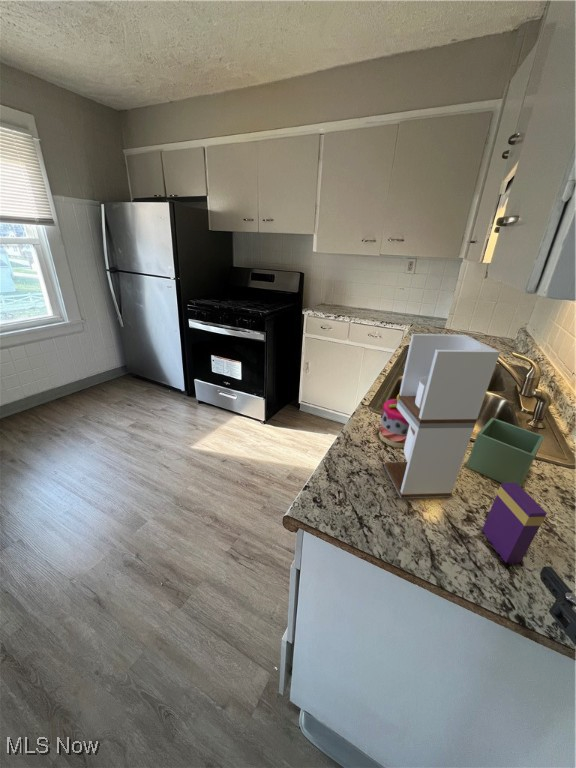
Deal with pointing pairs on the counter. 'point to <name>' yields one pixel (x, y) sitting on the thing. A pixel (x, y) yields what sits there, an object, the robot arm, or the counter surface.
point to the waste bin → (504, 451)
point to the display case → (439, 410)
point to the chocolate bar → (513, 522)
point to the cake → (393, 425)
